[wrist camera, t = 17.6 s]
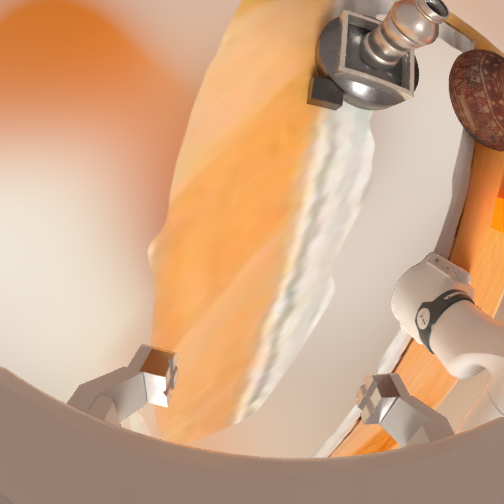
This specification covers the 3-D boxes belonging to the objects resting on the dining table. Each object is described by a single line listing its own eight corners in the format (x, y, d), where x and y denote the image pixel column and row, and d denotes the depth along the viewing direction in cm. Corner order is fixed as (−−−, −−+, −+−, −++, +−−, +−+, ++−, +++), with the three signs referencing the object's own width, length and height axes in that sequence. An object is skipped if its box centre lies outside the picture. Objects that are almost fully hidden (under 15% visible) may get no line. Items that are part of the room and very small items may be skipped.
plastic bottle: (378, 37, 30) (436, -17, 11) (397, 70, 32) (468, 30, 13) (347, 42, 31) (398, -21, 12) (367, 77, 33) (433, 29, 14)
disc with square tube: (406, 45, 34) (425, 31, 26) (402, 131, 40) (425, 127, 32) (318, 15, 33) (326, -6, 26) (306, 103, 39) (315, 91, 32)
